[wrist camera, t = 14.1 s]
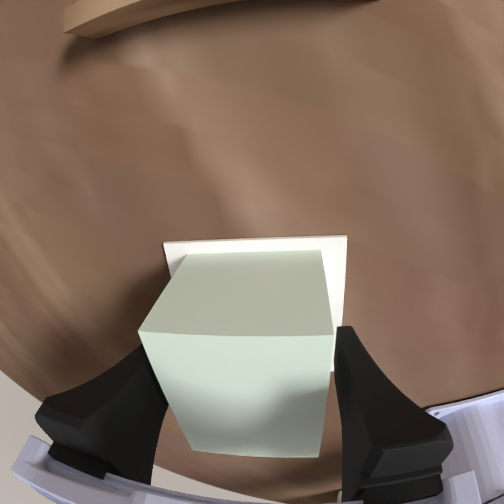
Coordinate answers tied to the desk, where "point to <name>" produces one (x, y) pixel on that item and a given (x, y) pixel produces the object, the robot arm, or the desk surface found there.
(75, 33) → the stopper
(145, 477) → the robot arm
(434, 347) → the desk surface
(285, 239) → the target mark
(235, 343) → the pale green block
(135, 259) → the desk surface
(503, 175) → the desk surface
